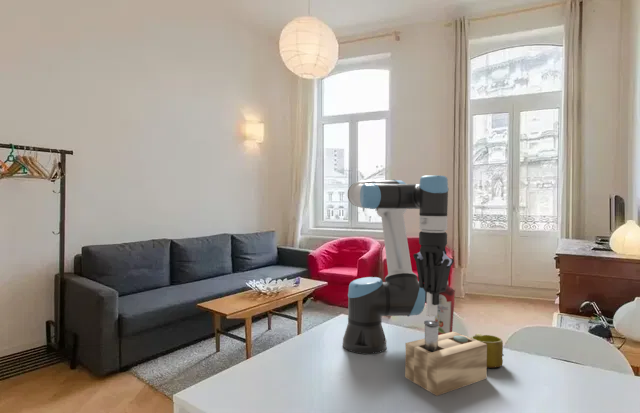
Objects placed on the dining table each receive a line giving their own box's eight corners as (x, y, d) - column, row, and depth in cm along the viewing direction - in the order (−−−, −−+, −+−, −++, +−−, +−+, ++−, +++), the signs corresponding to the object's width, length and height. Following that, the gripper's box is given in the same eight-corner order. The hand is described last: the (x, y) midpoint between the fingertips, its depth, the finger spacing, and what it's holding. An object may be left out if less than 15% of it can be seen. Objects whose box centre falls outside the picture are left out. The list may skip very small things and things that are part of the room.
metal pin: (420, 353, 109) (421, 321, 109) (430, 350, 111) (431, 319, 111) (431, 358, 106) (431, 325, 106) (441, 355, 108) (442, 323, 108)
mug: (513, 367, 115) (501, 333, 117) (478, 374, 117) (467, 340, 119) (505, 359, 126) (494, 328, 129) (473, 365, 128) (463, 335, 131)
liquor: (429, 342, 139) (431, 265, 138) (436, 337, 145) (437, 262, 144) (450, 347, 134) (451, 267, 134) (456, 341, 140) (457, 264, 140)
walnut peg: (449, 367, 115) (450, 337, 115) (459, 364, 117) (459, 334, 117) (460, 372, 112) (461, 341, 112) (470, 369, 114) (470, 339, 114)
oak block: (405, 377, 112) (405, 343, 112) (453, 362, 122) (453, 331, 122) (436, 395, 101) (437, 358, 101) (486, 378, 111) (487, 344, 111)
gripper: (406, 229, 111) (405, 311, 112) (441, 233, 100) (440, 324, 101) (425, 229, 115) (424, 307, 116) (461, 232, 104) (460, 319, 104)
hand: (431, 315), depth 108 cm, fingers closed
